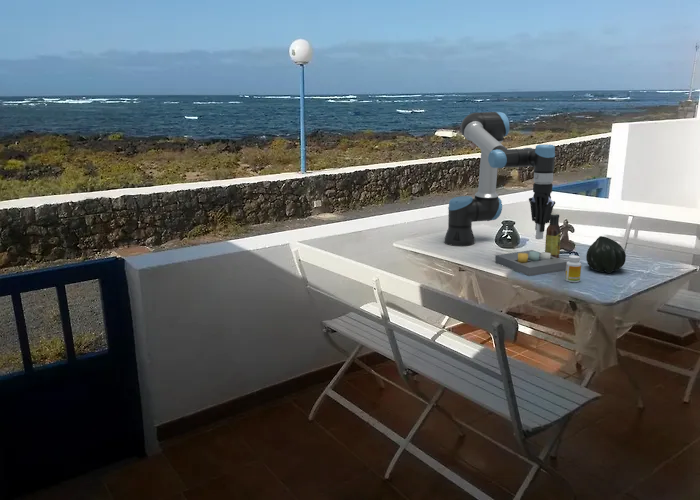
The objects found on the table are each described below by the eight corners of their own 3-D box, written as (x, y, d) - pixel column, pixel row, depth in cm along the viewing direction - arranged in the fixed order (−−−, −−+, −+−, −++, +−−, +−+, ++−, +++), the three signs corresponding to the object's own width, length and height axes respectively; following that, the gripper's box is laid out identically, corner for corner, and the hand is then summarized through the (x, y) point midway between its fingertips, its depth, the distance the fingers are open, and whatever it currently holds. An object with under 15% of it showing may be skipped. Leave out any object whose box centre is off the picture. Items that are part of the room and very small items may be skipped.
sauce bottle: (560, 259, 236) (563, 215, 231) (545, 259, 237) (548, 215, 232) (557, 255, 242) (561, 213, 237) (543, 255, 243) (546, 212, 238)
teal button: (527, 260, 225) (527, 251, 224) (534, 259, 227) (535, 250, 226) (533, 263, 222) (534, 253, 221) (541, 261, 223) (541, 252, 222)
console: (495, 262, 233) (495, 255, 232) (531, 257, 240) (532, 249, 239) (529, 275, 213) (529, 267, 212) (567, 269, 220) (568, 261, 219)
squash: (639, 260, 212) (619, 228, 218) (615, 267, 206) (595, 234, 211) (614, 275, 224) (595, 245, 229) (590, 282, 217) (571, 251, 223)
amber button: (515, 262, 223) (516, 253, 222) (523, 261, 225) (523, 252, 224) (521, 264, 220) (522, 255, 219) (529, 263, 221) (530, 254, 220)
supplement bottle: (583, 281, 205) (585, 257, 202) (571, 283, 203) (573, 259, 201) (573, 277, 210) (575, 254, 207) (562, 279, 208) (563, 255, 205)
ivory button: (538, 261, 228) (538, 252, 227) (545, 260, 229) (546, 251, 228) (544, 264, 224) (545, 254, 223) (552, 262, 226) (552, 253, 225)
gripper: (524, 181, 221) (521, 236, 227) (547, 185, 209) (543, 243, 215) (538, 180, 224) (535, 234, 230) (561, 183, 212) (557, 240, 218)
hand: (539, 238), depth 223 cm, fingers closed
